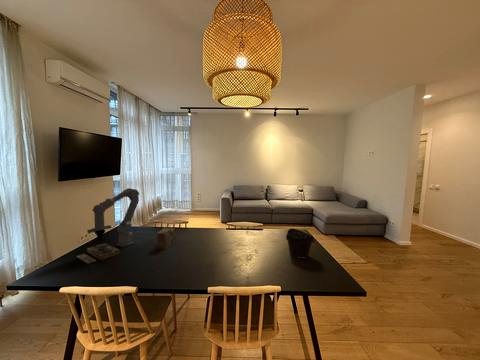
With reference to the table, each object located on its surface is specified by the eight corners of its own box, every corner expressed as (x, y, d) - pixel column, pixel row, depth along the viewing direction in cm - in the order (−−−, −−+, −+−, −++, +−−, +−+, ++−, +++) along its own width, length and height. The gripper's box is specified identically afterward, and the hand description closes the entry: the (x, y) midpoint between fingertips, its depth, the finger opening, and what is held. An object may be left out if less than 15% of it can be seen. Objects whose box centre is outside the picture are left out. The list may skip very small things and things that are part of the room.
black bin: (315, 262, 144) (316, 236, 143) (285, 259, 148) (286, 234, 147) (312, 252, 161) (313, 228, 160) (285, 249, 165) (286, 226, 164)
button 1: (100, 248, 157) (100, 244, 157) (103, 249, 155) (103, 245, 154) (93, 250, 153) (93, 246, 153) (96, 251, 151) (96, 247, 151)
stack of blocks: (168, 238, 182) (168, 224, 181) (175, 239, 181) (175, 224, 180) (157, 248, 160) (157, 232, 159) (165, 249, 160) (165, 233, 159)
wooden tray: (105, 247, 161) (105, 243, 161) (119, 253, 150) (119, 249, 150) (87, 252, 151) (87, 248, 151) (101, 260, 140) (100, 255, 140)
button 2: (104, 247, 153) (104, 243, 153) (108, 249, 151) (107, 245, 151) (98, 249, 150) (98, 245, 149) (101, 251, 147) (101, 247, 147)
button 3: (109, 250, 150) (109, 245, 150) (112, 251, 148) (112, 247, 147) (102, 252, 146) (102, 247, 146) (106, 253, 144) (105, 249, 144)
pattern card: (84, 254, 148) (84, 253, 148) (96, 260, 139) (96, 260, 139) (76, 256, 144) (76, 256, 144) (87, 263, 135) (87, 263, 135)
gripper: (90, 225, 143) (91, 244, 144) (113, 220, 155) (113, 238, 156) (85, 223, 146) (86, 242, 148) (108, 218, 159) (108, 236, 160)
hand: (100, 240), depth 152 cm, fingers closed
